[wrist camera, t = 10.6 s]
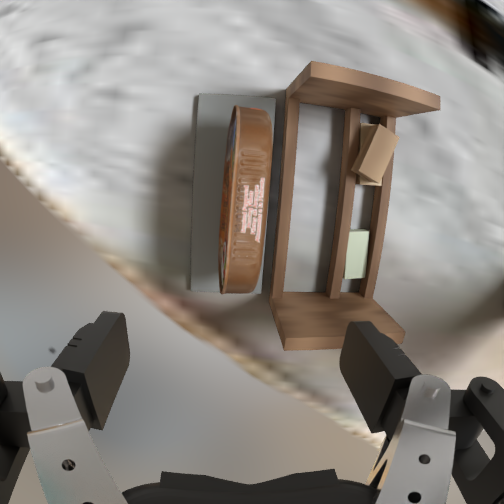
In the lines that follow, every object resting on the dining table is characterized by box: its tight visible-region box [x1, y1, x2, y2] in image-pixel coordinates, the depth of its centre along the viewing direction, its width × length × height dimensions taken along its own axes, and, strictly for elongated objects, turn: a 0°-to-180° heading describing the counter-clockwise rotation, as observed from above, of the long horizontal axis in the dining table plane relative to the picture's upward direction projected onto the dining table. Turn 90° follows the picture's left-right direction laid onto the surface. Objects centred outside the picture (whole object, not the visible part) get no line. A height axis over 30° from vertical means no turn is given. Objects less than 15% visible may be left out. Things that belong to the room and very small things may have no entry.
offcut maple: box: [355, 123, 382, 186], centre depth 28 cm, size 2×6×2 cm, turn 0°
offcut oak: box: [351, 124, 399, 183], centre depth 26 cm, size 2×5×2 cm, turn 155°
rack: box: [269, 61, 440, 351], centre depth 25 cm, size 11×21×9 cm, turn 176°
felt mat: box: [191, 93, 276, 294], centre depth 28 cm, size 7×19×1 cm, turn 176°
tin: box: [218, 105, 273, 294], centre depth 24 cm, size 15×3×8 cm, turn 175°
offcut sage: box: [343, 229, 369, 279], centre depth 31 cm, size 2×5×1 cm, turn 1°
